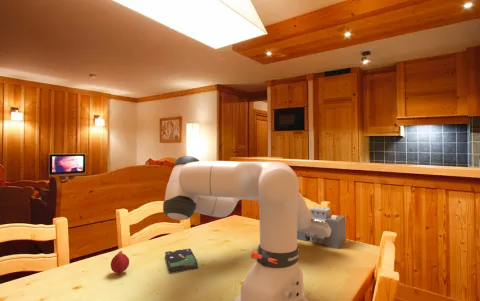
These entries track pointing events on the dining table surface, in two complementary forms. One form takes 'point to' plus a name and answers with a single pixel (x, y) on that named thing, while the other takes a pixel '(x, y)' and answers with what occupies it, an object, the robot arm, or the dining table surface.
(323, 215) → the circuit breaker
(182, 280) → the dining table surface
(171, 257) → the disk drive
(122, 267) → the onion
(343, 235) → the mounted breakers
